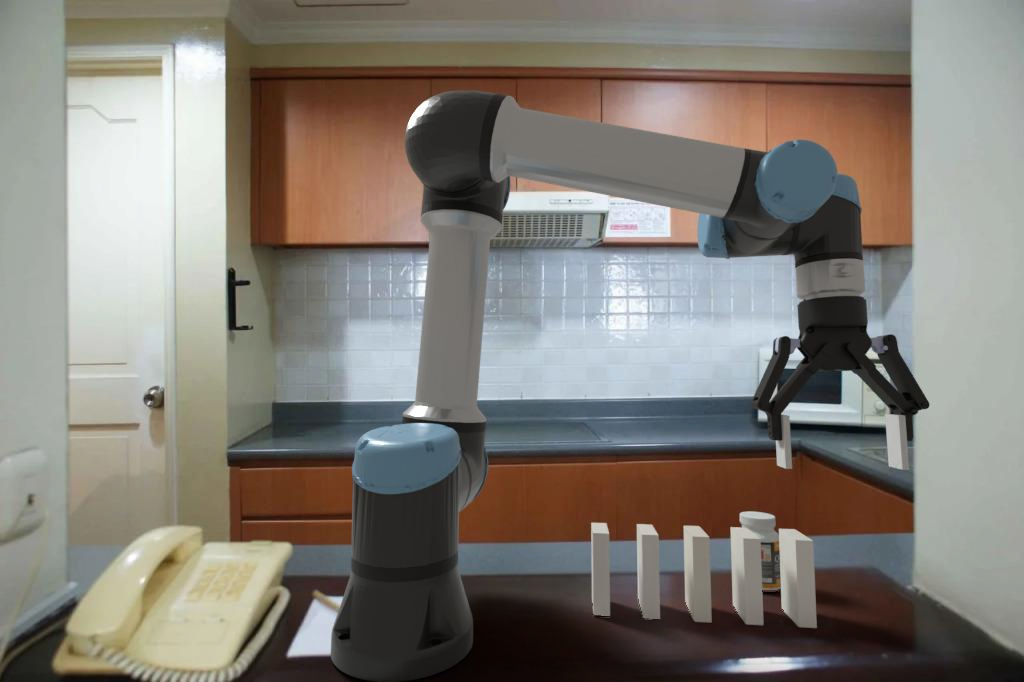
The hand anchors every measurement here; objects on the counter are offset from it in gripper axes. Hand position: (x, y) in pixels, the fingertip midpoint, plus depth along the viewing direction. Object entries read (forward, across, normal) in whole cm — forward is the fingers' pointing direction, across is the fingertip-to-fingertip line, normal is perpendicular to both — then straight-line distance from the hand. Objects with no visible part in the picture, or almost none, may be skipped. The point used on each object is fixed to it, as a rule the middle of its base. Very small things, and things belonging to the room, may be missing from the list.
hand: (841, 467), depth 64 cm
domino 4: (+18, -12, 0) cm, 22 cm away
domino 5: (+18, -6, 0) cm, 19 cm away
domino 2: (+18, -24, 0) cm, 30 cm away
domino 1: (+18, -30, 0) cm, 35 cm away
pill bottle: (+18, -7, +10) cm, 22 cm away
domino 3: (+18, -18, 0) cm, 25 cm away
